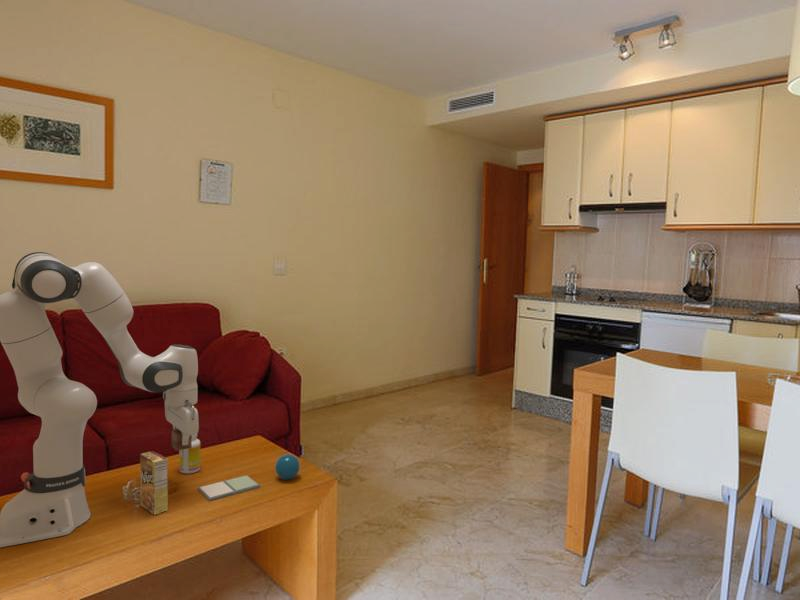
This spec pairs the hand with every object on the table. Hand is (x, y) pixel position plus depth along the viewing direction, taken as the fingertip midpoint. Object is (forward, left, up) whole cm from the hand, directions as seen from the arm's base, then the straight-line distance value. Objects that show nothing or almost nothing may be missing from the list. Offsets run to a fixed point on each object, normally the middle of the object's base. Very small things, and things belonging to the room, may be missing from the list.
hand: (181, 441), depth 164 cm
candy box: (-10, -8, -15) cm, 20 cm away
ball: (+30, -12, -15) cm, 36 cm away
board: (+12, -8, -15) cm, 21 cm away
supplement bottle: (+7, +13, -15) cm, 21 cm away
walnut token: (0, 0, -2) cm, 2 cm away
